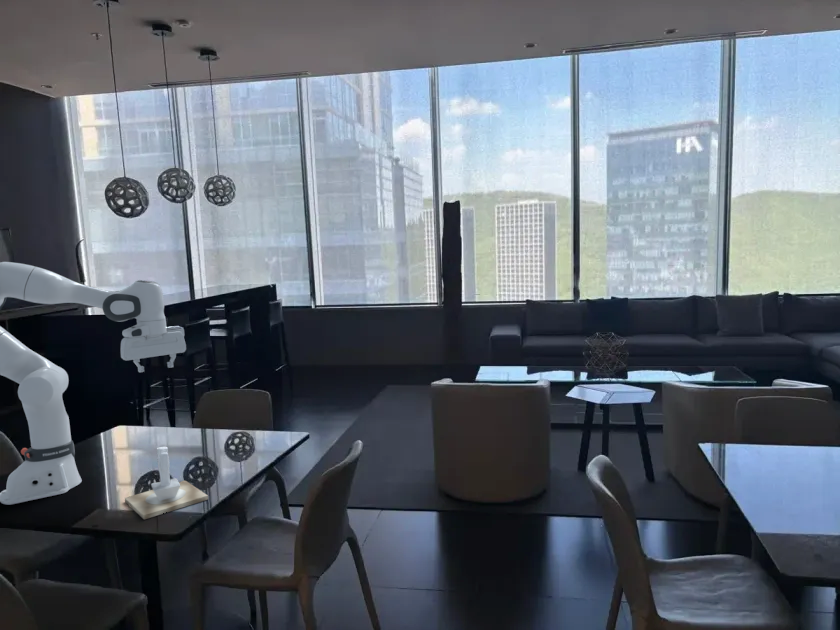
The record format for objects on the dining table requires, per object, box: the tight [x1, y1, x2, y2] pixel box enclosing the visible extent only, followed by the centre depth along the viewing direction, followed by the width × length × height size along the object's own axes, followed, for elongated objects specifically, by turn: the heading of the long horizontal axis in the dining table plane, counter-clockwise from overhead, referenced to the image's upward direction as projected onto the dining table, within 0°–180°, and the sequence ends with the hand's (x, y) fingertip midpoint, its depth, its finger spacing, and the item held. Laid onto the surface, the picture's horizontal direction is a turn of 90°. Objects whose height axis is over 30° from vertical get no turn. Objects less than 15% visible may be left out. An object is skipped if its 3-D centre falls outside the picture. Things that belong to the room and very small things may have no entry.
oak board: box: [124, 480, 209, 520], centre depth 176 cm, size 18×18×1 cm
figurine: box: [150, 446, 180, 501], centre depth 175 cm, size 7×9×15 cm
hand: (156, 369), depth 198 cm, fingers open, 8 cm apart
